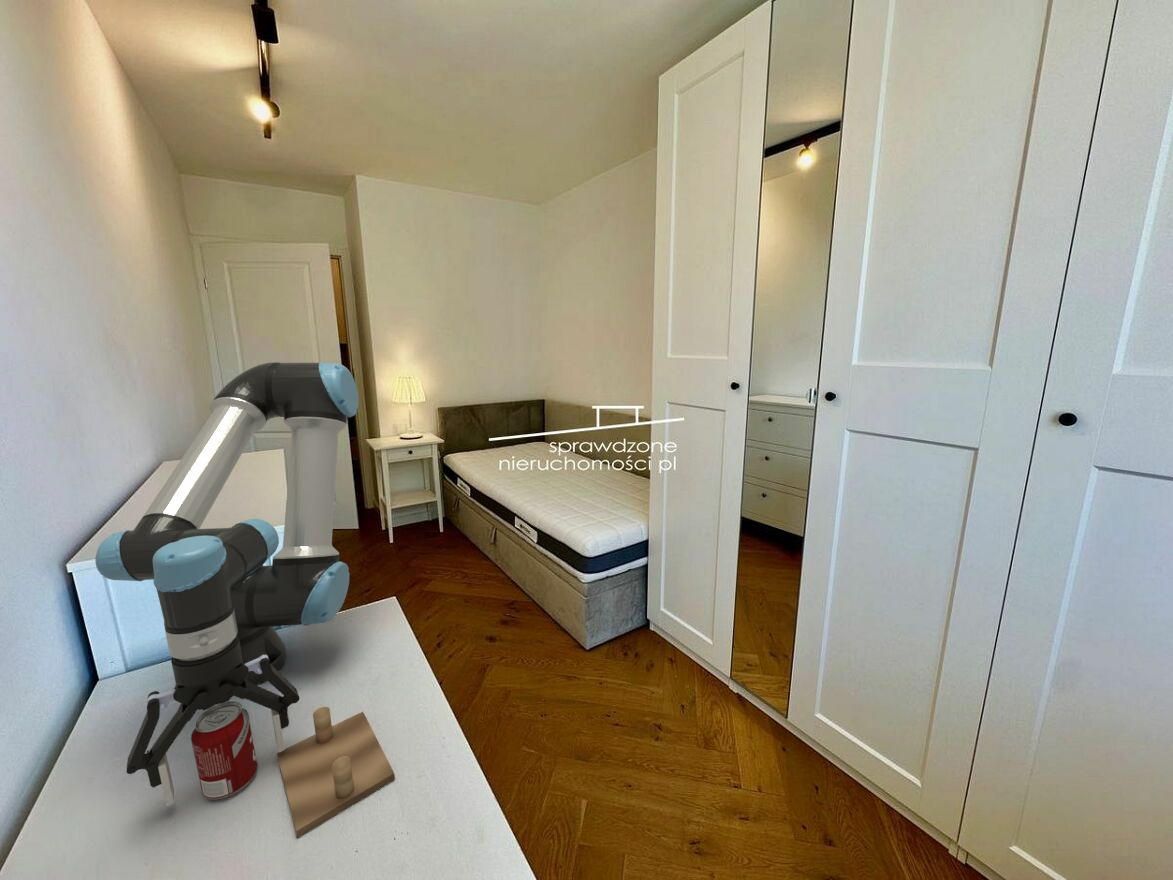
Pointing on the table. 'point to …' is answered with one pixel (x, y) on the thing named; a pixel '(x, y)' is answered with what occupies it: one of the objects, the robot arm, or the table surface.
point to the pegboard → (332, 769)
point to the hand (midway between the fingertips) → (228, 770)
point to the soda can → (224, 750)
